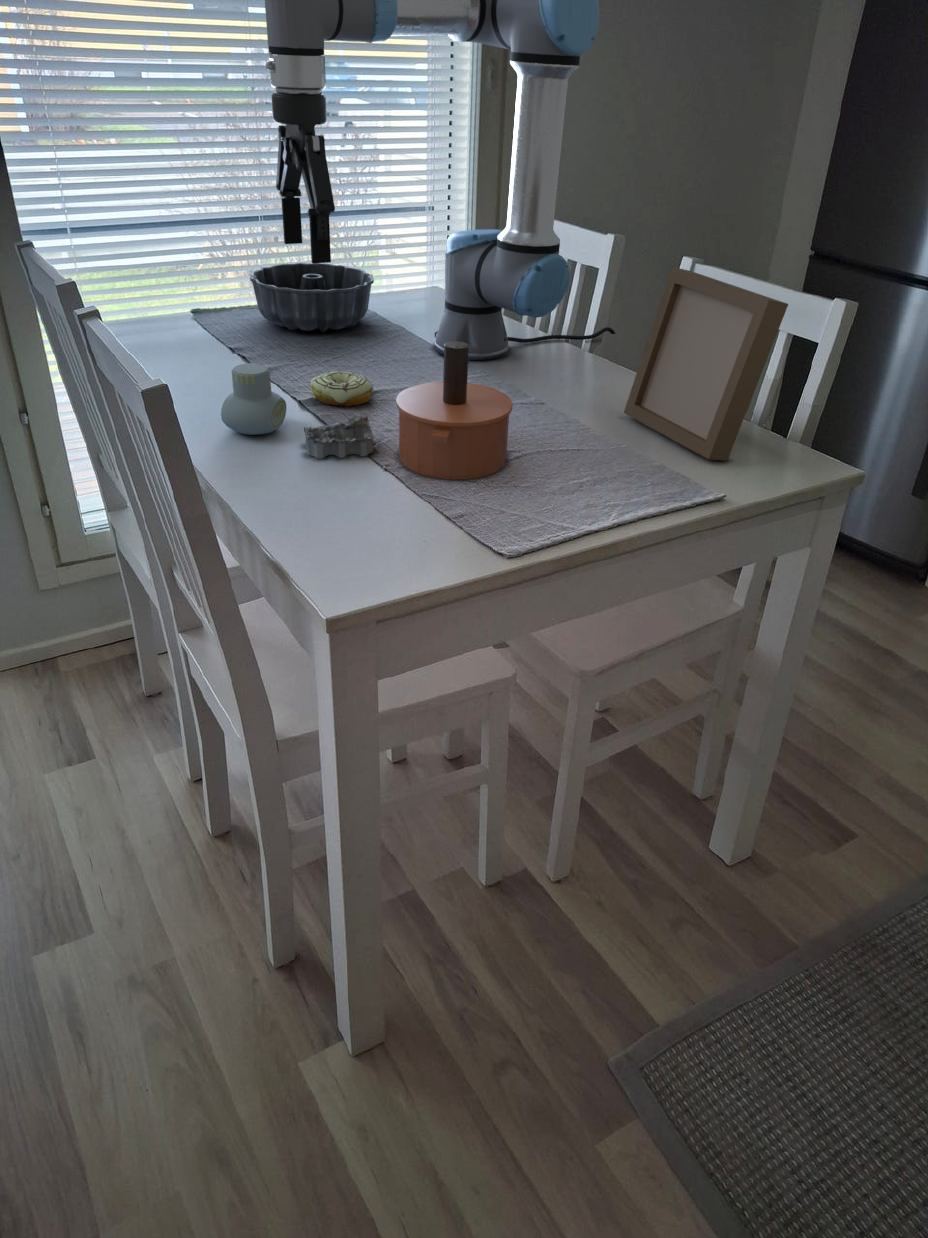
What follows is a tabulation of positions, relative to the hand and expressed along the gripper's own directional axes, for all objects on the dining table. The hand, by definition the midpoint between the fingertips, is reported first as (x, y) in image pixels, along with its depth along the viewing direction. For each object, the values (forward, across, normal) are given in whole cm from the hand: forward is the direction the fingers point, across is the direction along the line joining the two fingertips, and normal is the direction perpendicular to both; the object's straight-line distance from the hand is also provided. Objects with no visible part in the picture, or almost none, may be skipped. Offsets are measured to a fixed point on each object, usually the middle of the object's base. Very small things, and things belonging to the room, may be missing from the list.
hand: (306, 252), depth 137 cm
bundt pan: (+27, -55, +18) cm, 64 cm away
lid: (+18, +22, +15) cm, 32 cm away
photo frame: (+27, +28, +58) cm, 70 cm away
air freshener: (+27, 0, -10) cm, 29 cm away
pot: (+27, +22, +15) cm, 38 cm away
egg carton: (+27, +13, 0) cm, 30 cm away
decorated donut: (+27, -8, +8) cm, 29 cm away
